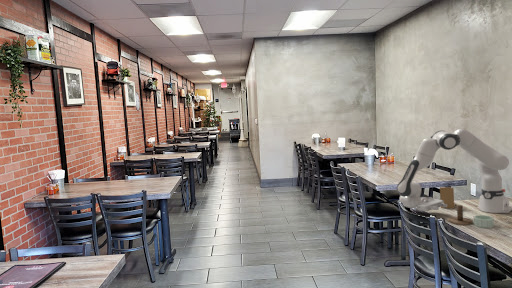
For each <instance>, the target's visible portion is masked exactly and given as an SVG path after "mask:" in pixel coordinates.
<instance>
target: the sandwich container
mask: <svg viewBox="0 0 512 288" xmlns="http://www.w3.org/2000/svg"><path fill="white" fill-rule="evenodd" d="M454 192H455V191H454V187H451V186H449V187H448V186H443V187H442V186H441V187H439V198H440V199H439V200H443V201H444V204H447V207H443V206H442V207H440V208H441V209H452V210H453V209H455V193H454Z"/></svg>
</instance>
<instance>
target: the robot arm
mask: <svg viewBox="0 0 512 288" xmlns="http://www.w3.org/2000/svg"><path fill="white" fill-rule="evenodd" d="M457 146H458V147H460V148H461V149H462V150H463V151H465V152H466V153H467V154H469V155H470V156H471V157H472V158H474V160H475V163H476V164H477V165H478V168H479V171H480V176H481V191H480V192H481V195H480V196H479V204H478V206H477V209H479V211H482V212H484V213H491V214H492V213H493V214H503V213H504V214H508V213H510V212H511V211H512V205H510V200H509V199H508V198H507V197H506V195H505V192H506V189H505V188H503V179H502V178H503V177H502V176H501V175H500V172H499V171H502V170H506V169H507V168H508V167H509V165H510V160H509V158H508V156H506V155H504V154H502V153H501V152H499V151H498V150H496V149H494V148H493V147H491V146H489V145H488V144H486V143H484V141H482V140H481V139H480V138H478V137H477V136H476V135H475V134H473V133H472V132H470V131H468V130H466V129H465V128H457V129H456V130H454V131H453V132H449V131H446V130H438V131H436V132H435V133H434V134H433V135H432V136H430V137H426V138H424V139H423V140H422V141H421V143H420V145H419V146H418V149H417V152H416V153H415V155H414V157H413V159H412V161H410V163H409V164H408V167H407V169H406V171H405V173H404V174H403V177H402V179H401V180H400V181H399V182H398V184H397V186H396V191H397V193H398V195H399V203H400V202H402V203H403V205H404V206H403V205H402V206H403V207H405V208H409V209H415V210H418V211H421V212H429V211H439V208H441V207H442V206H443V207H447V204H444V201H443V200H440V199H438V198H432V196H427V197H424V196H422V189H423V188H422V185H421V184H420V183H419V182H416V181H414V178H415V176H416V174H417V173H418V172H419V171H420V170H422V169H425V168H427V167H429V166H431V164H433V161H434V158H435V155H436V153H437V151H438V150H439V149H443V150H448V151H450V150H453V149H455V148H456V147H457Z"/></svg>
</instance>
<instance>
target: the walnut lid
mask: <svg viewBox="0 0 512 288" xmlns="http://www.w3.org/2000/svg"><path fill="white" fill-rule="evenodd" d="M463 207H464V206H463V205H460V204H459V205H456V213H457V214H456V215H457V216H454V217H449V218H448V219H447V222H448V223H450V224H453V225H457V226H458V225H459V226H470V225H473V224H474V220H472V219H470V218H468V217H464V212H463V211H464V209H463Z"/></svg>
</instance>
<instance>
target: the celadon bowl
mask: <svg viewBox="0 0 512 288" xmlns="http://www.w3.org/2000/svg"><path fill="white" fill-rule="evenodd" d="M473 226H475V227H477V228H484V229H489V228H490V229H491V228H494V227H495V219H494V217H492V216H490V215H487V214H486V215H485V214H484V215H483V214H479V215H477V214H475V215H474V216H473Z"/></svg>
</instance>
